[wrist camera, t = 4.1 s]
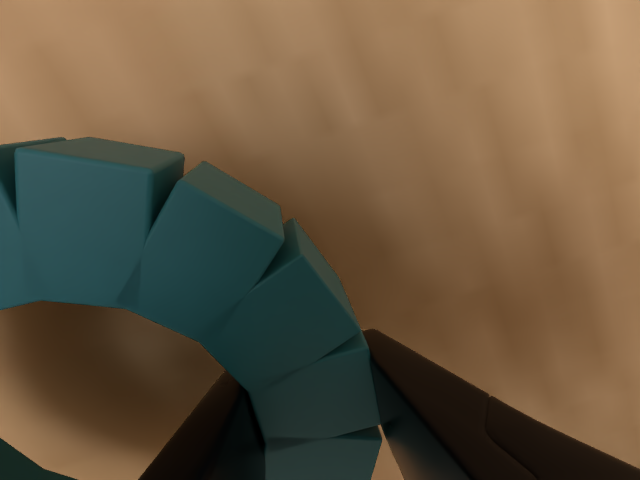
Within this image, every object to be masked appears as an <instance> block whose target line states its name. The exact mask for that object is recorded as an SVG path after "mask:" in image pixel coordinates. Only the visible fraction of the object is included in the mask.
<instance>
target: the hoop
mask: <svg viewBox="0 0 640 480" xmlns="http://www.w3.org/2000/svg"><path fill="white" fill-rule="evenodd" d="M184 161H185V157H184V154H182V153H180V152H175V151H169V150H163V149H157V148H151V147H145V146H140V145H134V144H128V143H122V142H116V141H110V140H104V139H98V138H93V137H86V138H79V139H72V140H66V139H65V138H64V137H58V138H51V139H43V140H35V141H27V142H19V143H12V144H4V145H0V310H4V309H8V308H12V307H16V306H20V305H25V304H29V303H33V302H37V301H51V302H61V303H71V304H81V305H91V306H101V307H111V308H121V309H127V310H129V311H131V312H133V313H136V314H138V315H140V316H142V317H144V318H147V319H149V320H151V321H153V322H155V323H158V324H160V325H162V326H164V327H167V328H169V329H171V330H173V331H175V332H178V333H180V334H182V335H184V336H186V337H189V338H191V339H193V340H195V341H197V342H199V343H200V344H201V345H202V346H203V347H204V348H205V349H206V350H207V351H208V352H209V353H210V354H211V355H212V356H213V357H214V358H215V359H216V360H217V361H218V362H219V363H220V364H221V365H222V366H223V367H224V368H225V369H226V370H227V371H228V372H229V373H230V374H231V375H232V376H233V377H234V378H235V380H236V381H237V382H238V383H239V384H240V385H241V386H242V387H243V388H244V389H245V390H246V391H247V392H248V395H249V398H250V401H251V404H252V407H253V410H254V413H255V416H256V419H257V422H258V425H259V428H260V431H261V434H262V437H263V449H264V454H265V463H266V472H265V480H371V477H372V473H373V470H374V467H375V463H376V460H377V456H378V453H379V449H380V446H381V442H382V437H381V434H380V431H379V428H378V425H380V424H381V419H380V414H379V408H378V402H377V397H376V391H375V385H374V380H373V374H372V368H371V363H370V350H369V347H368V344H367V342H366V340H365V337H364V335H363V333H362V330H361V328H360V326H359V323H358V321H357V319H356V316H355V314H354V312H353V309H352V307H351V305H350V302H349V300H348V297H347V295H346V293H345V291H344V289H343V286H342V284H341V281H340V279H339V277H338V276H337V274H336V273H335V272H334V270H333V269H332V268H331V266H330V265H329V264H328V262H327V261H326V260H325V258H324V257H323V256H322V254H321V253H320V252H319V250H318V249H317V248H316V246H315V245H314V244H313V242H312V241H311V240H310V238H309V237H308V236H307V234H306V233H305V231H304V230H303V229H302V227H301V226H300V225H299V223H298V222H297V221H296V219H295V218H292V219H290V220H289V221H287V222H286V223H285V224H283V223H282V215H281V208H280V206H279V205H278V204H277V203H275V202H273V201H272V200H270V199H268V198H267V197H265V196H263V195H261V194H260V193H258V192H256V191H255V190H253V189H251V188H250V187H248V186H246V185H245V184H243V183H241V182H240V181H238V180H236V179H235V178H233V177H231V176H230V175H228V174H226V173H224V172H223V171H221V170H219V169H218V168H216V167H214V166H213V165H211V164H209V163H208V162H206V161H203V162H201V163H200V164H199V165H198V166H196V167H195V168H194V169H192V170H191V171H190V172H189V173H187V174H186V175H185V176H183V173H184ZM0 480H77V479H74V478H71V477H68V476H65V475H61V474H58V473H55V472H52V471H49V470H46V469H43V468H42V467H40V466H39V465H37V464H36V463H35V462H33V461H32V460H30V459H29V458H28V457H26V456H25V455H23V454H22V453H21V452H19V451H18V450H16V449H15V448H14V447H12V446H11V445H9V444H8V443H7V442H5V441H4V440H2V439H1V438H0Z"/></svg>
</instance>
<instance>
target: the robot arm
mask: <svg viewBox="0 0 640 480" xmlns="http://www.w3.org/2000/svg"><path fill="white" fill-rule="evenodd" d="M362 333H363V335H364V337H365V340H366V342H367V344H368V347H369V350H370V363H371V368H372V374H373V380H374V385H375V391H376V397H377V402H378V408H379V414H380V419H381V426H382V429H383V432H384V435H385V437H386V439H387V442H388V444H389V446H390V448H391V451H392V453H393V455H394V457H395V459H396V462H397V464H398V466H399V468H400V470H401V473H402V475H403V477H404V479H405V480H640V469H638V468H636V467H634V466H632V465H630V464H628V463H626V462H623V461H621V460H619V459H617V458H615V457H613V456H610V455H608V454H606V453H604V452H602V451H600V450H597V449H595V448H593V447H591V446H589V445H587V444H585V443H582V442H580V441H578V440H576V439H574V438H572V437H569V436H567V435H565V434H563V433H561V432H559V431H557V430H555V429H553V428H551V427H549V426H547V425H545V424H543V423H541V422H539V421H537V420H535V419H533V418H531V417H529V416H527V415H526V414H524V413H522V412H520V411H518V410H516V409H514V408H513V407H511V406H509V405H507V404H505V403H504V402H502V401H500V400H498V399H497V398H495V397H493V396H489V394H488V393H486V392H484V391H482V390H481V389H479V388H477V387H476V386H474V385H472V384H470V383H469V382H467V381H465V380H463V379H462V378H460V377H458V376H456V375H455V374H453V373H451V372H449V371H448V370H446V369H444V368H442V367H441V366H439V365H437V364H435V363H434V362H432V361H430V360H428V359H427V358H425V357H423V356H422V355H420V354H418V353H416V352H415V351H413V350H411V349H409V348H408V347H406V346H404V345H402V344H401V343H399V342H397V341H395V340H394V339H392V338H390V337H388V336H387V335H385V334H383V333H381V332H380V331H378V330H376V329H369V330H365V331H362ZM265 472H266V463H265V454H264V449H263V437H262V434H261V431H260V428H259V425H258V422H257V419H256V416H255V413H254V410H253V407H252V404H251V401H250V398H249V395H248V392H247V391H246V390H245V389H244V388H243V387H242V386H241V385H240V384H239V383H238V382H237V381H236V380H235V378H234V377H233V376H232V375H231V374H230V373H229V372H228V371H227V370H225V371H224V373H223V374H222V375H221V376H220V378H219V379H218V380H217V381H216V383H215V384H214V385H213V386H212V388H211V389H210V390H209V391H208V393H207V394H206V395H205V396H204V398H203V399H202V400H201V401H200V403H199V404H198V405H197V406H196V408H195V409H194V410H193V411H192V413H191V414H190V415H189V416H188V418H187V419H186V420H185V421H184V423H183V424H182V425H181V427H180V428H179V429H178V430H177V432H176V433H175V434H174V435H173V437H172V438H171V439H170V440H169V442H168V443H167V444H166V445H165V447H164V448H163V449H162V450H161V452H160V453H159V454H158V455H157V457H156V458H155V459H154V460H153V462H152V463H151V464H150V465H149V467H148V468H147V469H146V470H145V472H144V473H143V474H142V475H141V477H140V478H139V479H138V480H265Z"/></svg>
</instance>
